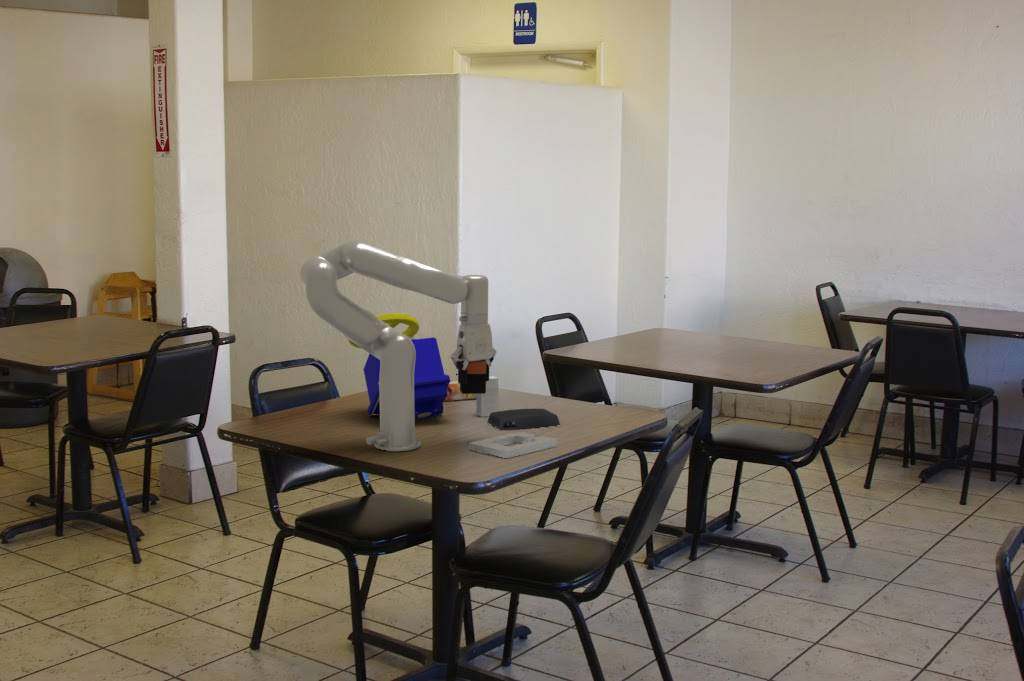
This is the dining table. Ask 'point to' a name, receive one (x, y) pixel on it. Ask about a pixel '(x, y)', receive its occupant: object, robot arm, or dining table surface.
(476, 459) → the dining table surface
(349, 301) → the robot arm
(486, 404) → the skincare box
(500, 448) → the plate
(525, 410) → the external hard drive
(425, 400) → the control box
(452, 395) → the snack package
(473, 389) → the battery
